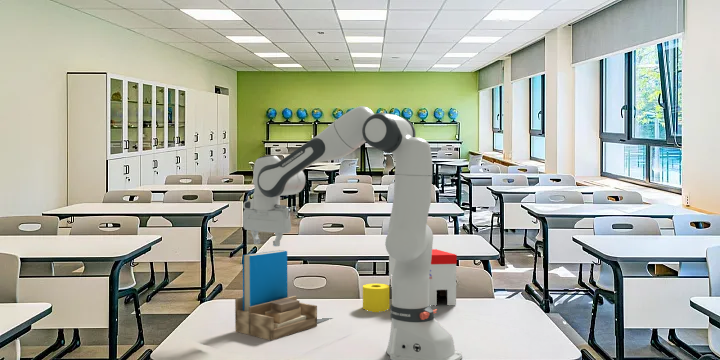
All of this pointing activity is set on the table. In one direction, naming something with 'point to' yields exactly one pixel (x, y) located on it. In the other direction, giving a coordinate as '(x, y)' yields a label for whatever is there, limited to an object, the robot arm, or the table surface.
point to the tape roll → (376, 297)
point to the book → (264, 278)
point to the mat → (322, 320)
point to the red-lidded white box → (438, 276)
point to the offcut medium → (284, 315)
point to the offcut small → (284, 305)
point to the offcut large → (290, 321)
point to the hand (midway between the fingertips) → (266, 245)
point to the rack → (270, 320)
